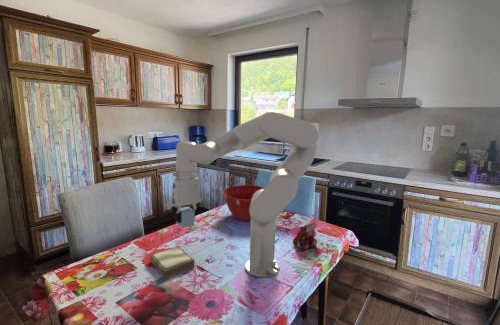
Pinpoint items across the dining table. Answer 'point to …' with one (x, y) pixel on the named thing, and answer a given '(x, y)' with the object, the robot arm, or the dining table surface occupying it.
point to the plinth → (172, 261)
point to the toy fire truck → (305, 237)
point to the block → (187, 217)
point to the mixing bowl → (240, 200)
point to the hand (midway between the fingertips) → (185, 219)
